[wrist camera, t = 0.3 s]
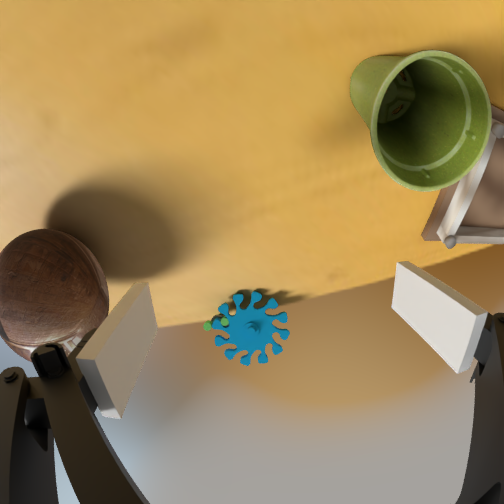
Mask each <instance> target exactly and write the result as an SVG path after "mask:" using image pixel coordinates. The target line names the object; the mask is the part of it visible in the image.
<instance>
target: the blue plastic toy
mask: <svg viewBox="0 0 504 504" xmlns="http://www.w3.org/2000/svg"><path fill="white" fill-rule="evenodd" d="M261 298H262V295H261V294H260V293H258V292H256V291H253V292H252V294H251V302H250V304H249V305H248V306H247V308H245V309H242V308H241V307H240V303H241V302H242V301H243V294H234V296H233V300H234V302H235V304H236V314H235V315H230V314H229V313H228V310H229V306H228V304H227V303H224V304H222V305H221V306H220V307H219V308H218V310H219V312H220V313H222V314H224V315H225V316H223V315H220V314H219V315H215V316H213V318H212V320H211V321H206V322H205V324H204V326H203V327H204V329H205V330H207V331H208V330H210V329H211V328H213V329H220V330H223V331H225V332H227V333H228V334H229V335H230V338H228V339H225V338H224V337H222V336H220V335H217V336H216V337H215V344H216V346H221V345H223V344H226V343H231V344H235V345H236V346H237V348H236V349H226V350H225V353H224V354H225V356H226V357H227V358H228V359H229V360H231V359H233V357H234V355H235V354H236V353H238V352H240V351H242V350H247V351H248V354H247V355H244V356H242V357H241V360H240V363H242V364H243V365H247V366H248V365H249V364H250V358H251V355H252V354H253V353H254V351H255V350H261V354H260V355H259V356H258V362H259V363H267V362H268V357H267V355H266V354H265V346H266V344H268V343H271V344H272V345H273V347H272V350H273V353H274V354H275V355H277V354H279V353H280V352H282V351H283V349H282V347H281V346H280V345H279V344H277V343H276V342H275V341H274V340H273V338H272V334H273V333H274V332H278V333H279V334H280V337H281V338H282V339H283V340H286V339H287V338H288V336H289V334H290V332H289V331H288V330H287V329H279V328H277V327H275V326H274V325H272V321H273V320H275V319H277V320H279V321H280V322H282V323H286V322H287V313H286V312H281V313H279V314H277V315H267V314H266V313H265V310H266V309H268V308H272V309H275V308H277V307H278V304H277V302H276V300H275V299H274V298H270V299H269V300H268V302H267V304H266V305H264V306H263V307H261V308H258V309H256V308H254V307H253V304H254V303H255V302H257V301H260V300H261Z"/></svg>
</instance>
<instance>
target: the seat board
mask: <svg viewBox="0 0 504 504" xmlns="http://www.w3.org/2000/svg"><path fill="white" fill-rule="evenodd" d="M491 113H492V117H491V119H492V122H491V130H490V135H489V139H488V142H487V144H486V147H485V150H484V152H483V154H482V156H481V158H480V159H479V161H478V162H477V163H476V164H475V166H474V167H473V169H472V170H471V171H470V172H469V173H468V174H467V175H465V176H464V177H463V178H462V179H460V180H459V181H458V182H456V183H454V184H453V185H451V186H448V187H445V188H442V189H441V191H440V194H439V196H438V198H437V201H436V203H435V206H434V208H433V210H432V213H431V215H430V217H429V219H428V221H427V224H426V226H425V228H424V230H423V232H422V234H421V235H422V237H423V239H424V241H442V242H443V243H445V245H446V247H447V248H448V249H450V248H453V247H454V246H455V245H456V243H474V244H504V111H503V110H501V109H499V108H497V107H495V106H493V105H491Z"/></svg>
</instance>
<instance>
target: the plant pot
mask: <svg viewBox="0 0 504 504" xmlns="http://www.w3.org/2000/svg"><path fill="white" fill-rule="evenodd" d="M400 71H402V72H403V74H404V75H405V77H406V81H403V79H402V77H401V75H400V74H399V72H400ZM386 90H387V93H385V92H386ZM350 97H351V100H352V103H353V105H354V107H355V108H356V110H357V111H358V112H359V114H360V115H361V117H362V118H363V120H364V121H365V123H366V124H367V126H368V128H369V129H370V136H371V142H372V146H373V150H374V153H375V155H376V157H377V159H378V161H379V163H380V165H381V166H382V168H383V169H384V171H385V172H386V173H387V174H388V175H389V176H390V177H391V178H392V179H393V180H394V181H395V182H397V183H398V184H400V185H402V186H404V187H406V188H409V189H411V190H415V191H423V192H424V191H426V192H429V191H435V190H439V189H442V188H445V187H448V186H451V185H453V184H454V183H456V182H458V181H459V180H460V179H462V178H463V177H464V176H465V175H467V174H468V173H469V172H470V171H471V170H472V169H473V167H474V166H475V164H476V163H477V162H478V161H479V159H480V158H481V156H482V154H483V152H484V150H485V147H486V144H487V142H488V139H489V135H490V130H491V122H492V119H491V117H492V113H491V104H490V99H489V96H488V93H487V90H486V88H485V85H484V83H483V81H482V80H481V78H480V77H479V75H478V74H477V72H476V71H475V70H474V69H473V68H472V67H471V66H470V65H469V64H468V63H467V62H465V61H464V60H463V59H461V58H459V57H458V56H456V55H453V54H451V53H448V52H444V51H439V50H424V51H419V52H416V53H413V54H411V55H409V56H407V57H401V56H373V57H370V58H368V59H366V60H364V61H363V62H361V63H360V64H359V65H358V66H357V67H356V69H355V70H354V72H353V74H352V76H351V83H350ZM401 104H403V108H402V109H401V110H399V112H398V113H396V114H392V111H394V110H395V109H397V108H398V107H399V106H400V105H401Z"/></svg>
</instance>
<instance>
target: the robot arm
mask: <svg viewBox="0 0 504 504" xmlns="http://www.w3.org/2000/svg"><path fill="white" fill-rule="evenodd" d="M392 308H393V309H394V310H395V311H396V312H397V313H398V314H399V315H400V316H401V317H402V318H403V319H404V320H405V321H406V322H407V323H408V324H409V325H410V326H411V327H412V328H413V329H414V330H415V331H416V332H417V333H418V334H419V335H420V336H421V337H422V338H423V339H424V340H425V341H426V342H427V343H428V344H429V345H430V346H431V347H432V348H433V349H434V350H435V351H436V352H437V353H438V354H439V355H440V356H441V357H442V358H443V359H444V360H445V361H446V362H447V364H448V365H449V366H450V367H451V368H452V369H453V370H454V371H455V372H456V373H457V374H458V373H461V372H463V371H465V370H468V369H469V368H470V365H471V363H472V360H473V357H475V358H476V359H477V360H478V363H477V366H476V368H475V370H474V373H473V375H472V377H471V380H470V382H472V381H473V379H475V406H474V419H473V429H472V438H471V445H470V452H469V458H468V464H467V469H466V474H465V479H464V483H463V487H462V491H461V494H460V496H459V498H458V500H457V502H456V504H504V313H496V314H494V315H491V314H490V313H488V312H487V311H486V310H484V309H482V308H481V307H480V306H478V305H477V304H476V303H474V302H473V301H471V300H469V299H468V298H466V297H465V296H463V295H462V294H460V293H459V292H457V291H455V290H454V289H453V288H451V287H449V286H448V285H446V284H445V283H443V282H442V281H440V280H438V279H437V278H435V277H433V276H432V275H430V274H429V273H427V272H425V271H424V270H422V269H420V268H419V267H417V266H415V265H414V264H412V263H410V262H409V261H404V262H397V266H396V276H395V285H394V293H393V300H392ZM157 331H158V327H157V322H156V318H155V313H154V309H153V304H152V299H151V294H150V289H149V284H148V282H146V283H134V284H133V286H132V287H131V288H130V289H129V290H128V292H127V293H126V294H125V295H124V296H123V298H122V299H121V300H120V301H119V303H118V304H117V305H116V306H115V307H114V309H113V310H112V311H111V312H110V314H109V315H108V316H107V317H106V319H105V320H104V321H103V323H102V324H101V325H100V326H99V328H94V329H92V330H91V331H89V332H88V333H86V334H85V335H84V337H83V338H82V339H81V340H80V342H79V343H78V344H77V345H76V347H75V348H74V349H73V351H72V352H71V353H70V354H69V356H68V357H67V356H66V354H65V351H64V349H63V347H62V345H61V344H59V343H56V342H50V343H46V344H43V345H41V346H39V347H37V348H36V349H35V350H34V351H33V352H32V353H31V356H30V358H31V361H32V363H33V365H34V367H35V369H36V371H37V373H38V375H39V377H30V378H27V376H26V374H25V372H24V370H23V369H22V368H20V367H11V368H7V369H5V370H4V371H3V372H2V373H1V374H0V504H59V502H58V494H57V487H56V475H55V461H54V438H55V442H56V445H57V448H58V451H59V454H60V456H61V459H62V462H63V465H64V467H65V470H66V473H67V475H68V477H69V480H70V482H71V485H72V487H73V489H74V492H75V494H76V496H77V498H78V500H79V502H80V504H150V503H149V502H148V500H147V499H146V498H145V497H144V495H143V494H142V492H141V491H140V489H139V488H138V487H137V485H136V484H135V482H134V481H133V479H132V478H131V477H130V475H129V473H128V472H127V470H126V469H125V467H124V466H123V464H122V462H121V461H120V459H119V458H118V456H117V454H116V452H115V451H114V449H113V447H112V446H111V444H110V442H109V440H108V439H107V437H106V435H105V433H104V431H103V429H102V428H101V425H100V423H99V422H98V420H97V418H96V416H95V414H94V412H95V410H96V408H97V406H98V408H99V410H100V411H101V413H102V415H103V416H104V417H109V418H117V419H121V418H122V415H123V413H124V410H125V408H126V405H127V402H128V400H129V398H130V395H131V393H132V390H133V388H134V385H135V383H136V380H137V378H138V375H139V373H140V371H141V368H142V366H143V364H144V361H145V359H146V357H147V354H148V352H149V349H150V347H151V345H152V343H153V340H154V338H155V336H156V333H157Z"/></svg>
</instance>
